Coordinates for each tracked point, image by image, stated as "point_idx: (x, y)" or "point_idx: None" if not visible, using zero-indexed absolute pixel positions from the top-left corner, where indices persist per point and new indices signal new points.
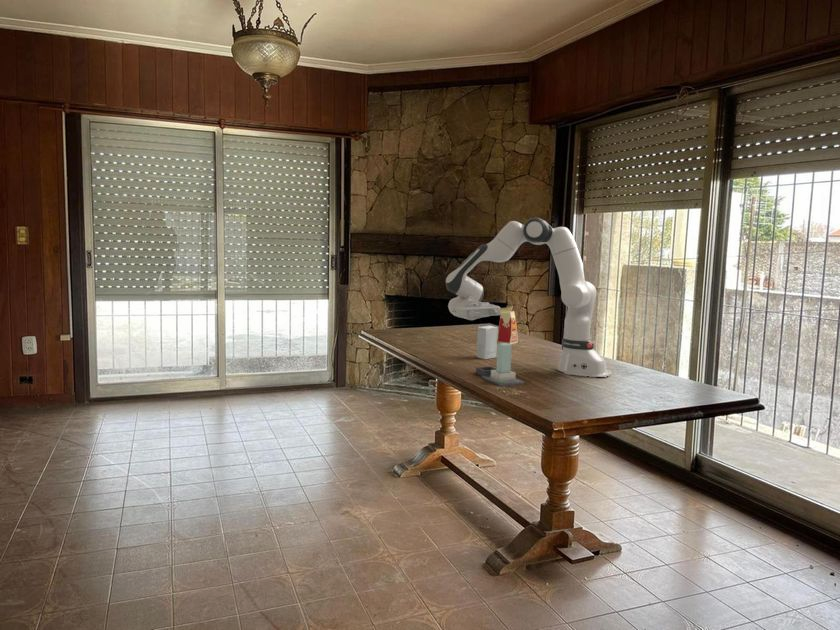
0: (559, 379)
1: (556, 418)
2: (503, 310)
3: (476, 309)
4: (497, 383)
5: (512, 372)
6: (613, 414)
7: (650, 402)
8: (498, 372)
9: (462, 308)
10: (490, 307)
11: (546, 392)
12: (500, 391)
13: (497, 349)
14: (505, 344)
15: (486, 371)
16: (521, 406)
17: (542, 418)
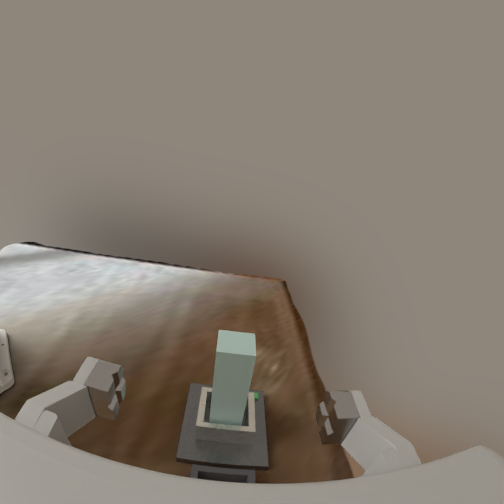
0: (72, 373)
1: (270, 284)
2: None
3: (309, 485)
4: (263, 401)
5: (208, 391)
6: (194, 271)
7: (106, 270)
8: (249, 404)
9: (485, 461)
10: (38, 446)
11: (194, 338)
12: (282, 369)
13: (252, 373)
14: (236, 339)
15: (246, 470)
16: (288, 314)
17: (286, 288)
